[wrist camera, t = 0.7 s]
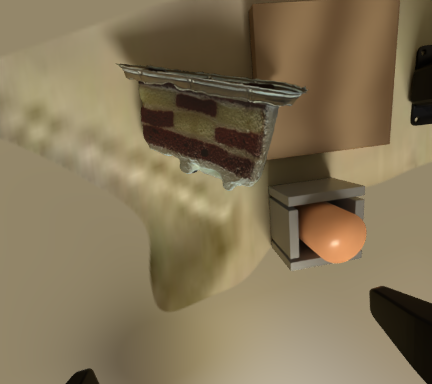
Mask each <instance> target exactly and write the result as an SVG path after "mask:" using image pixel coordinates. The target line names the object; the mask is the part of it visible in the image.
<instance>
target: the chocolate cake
mask: <svg viewBox="0 0 432 384" xmlns="http://www.w3.org/2000/svg"><path fill="white" fill-rule="evenodd" d="M115 64H116V63H115ZM117 65H119V66H120V67H121V68H122V69H123V71H124V73H125V76H126V78H128V79H135V80H138V81H139V96H140V98H141V100H142V103H143V106H142V108H141V116H142V119H141V122H142V124H143V135H144V138H145V140H146V142H147V143H148V145H149V147H150V149H153V150H155V151H158V152H160V153H162V154H164V155H167V156H175V157H177V158H179V159H180V169H181V171H183V172H184V173H187V174H191V173H195V172H197V171H198V170H200V171H202V172H203V173H205V174H208V175H211V176H214V177H216V178H219V179H222V181H223V186H224V188H225V189H226V190H228V191H230V190H232V189H233V188H234V187H236V186H237V185H239V186H241V185H244V186H249V187H250V186H253V185H254V184H255V183H256V182H257V181H258V180H259V179H260V177H261V175H262V172H263V169H264V166H265V162H266V160H267V154H268V151H269V147H270V144H271V141H272V136H273V132H274V127H275V123H276V118H277V115H278V109H279V106H285V105H287V106H292V105H293V104H294V103H295V101H296V100H297V99H298V98H299V97H300V95H302V94H303V93H305V92H306V93H307V91H308V90H306V86H305V87H302V88H301V87H300V86H297V85H296V84H288V83H286V82H277V81H268V80H260V79H255V80H254V79H253V80H252V79H248V78H242V77H230V76H225V75H224V76H221V75H218V74H209V73H204V72H188V71H186V72H185V71H181V70H171V69H166V68H162V67H152V66H146V67H145V66H141V65H140V66H138V65H129V64H117Z"/></svg>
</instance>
